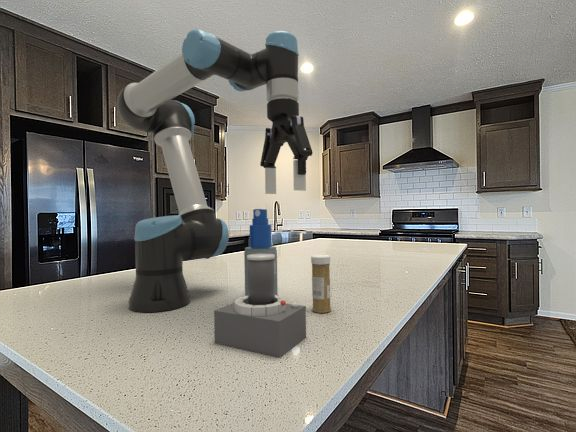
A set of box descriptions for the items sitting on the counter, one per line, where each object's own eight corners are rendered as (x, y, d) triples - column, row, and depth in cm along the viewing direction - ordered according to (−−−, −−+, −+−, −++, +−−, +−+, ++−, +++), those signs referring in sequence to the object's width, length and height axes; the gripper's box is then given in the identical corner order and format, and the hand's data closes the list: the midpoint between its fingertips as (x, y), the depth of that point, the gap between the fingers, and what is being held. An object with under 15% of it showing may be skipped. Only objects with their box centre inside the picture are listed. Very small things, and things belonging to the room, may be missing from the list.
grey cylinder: (250, 313, 60) (249, 257, 60) (246, 305, 66) (245, 254, 65) (279, 310, 62) (278, 256, 62) (273, 303, 67) (272, 252, 67)
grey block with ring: (214, 342, 63) (213, 299, 63) (246, 326, 71) (245, 288, 71) (279, 357, 56) (279, 308, 56) (306, 337, 65) (305, 295, 65)
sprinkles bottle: (334, 311, 81) (334, 255, 81) (320, 314, 79) (319, 257, 78) (322, 307, 85) (321, 253, 85) (308, 310, 82) (307, 255, 82)
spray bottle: (269, 306, 87) (267, 208, 86) (239, 303, 90) (237, 209, 90) (282, 297, 95) (281, 208, 95) (254, 295, 98) (253, 209, 98)
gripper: (327, 87, 71) (329, 189, 71) (272, 117, 92) (273, 195, 93) (297, 81, 67) (299, 188, 67) (246, 113, 88) (248, 194, 89)
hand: (284, 192), depth 80 cm, fingers open, 13 cm apart
